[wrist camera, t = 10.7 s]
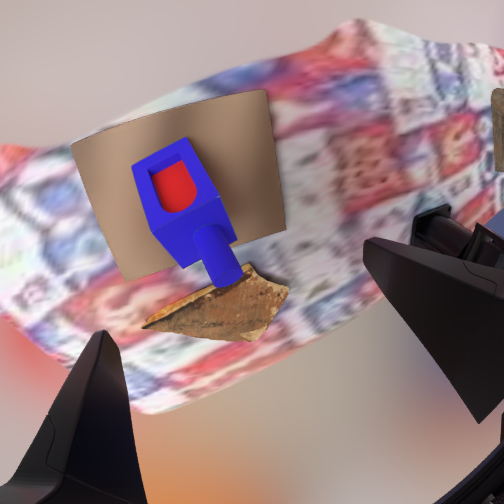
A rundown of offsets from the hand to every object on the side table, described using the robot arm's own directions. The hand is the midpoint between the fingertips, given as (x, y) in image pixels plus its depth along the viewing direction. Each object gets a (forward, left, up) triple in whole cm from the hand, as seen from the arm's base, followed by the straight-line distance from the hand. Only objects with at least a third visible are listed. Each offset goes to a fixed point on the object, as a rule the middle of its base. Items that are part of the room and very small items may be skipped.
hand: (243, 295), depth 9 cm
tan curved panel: (0, 0, -12) cm, 12 cm away
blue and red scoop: (+1, 0, -11) cm, 11 cm away
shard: (0, +12, -13) cm, 17 cm away
